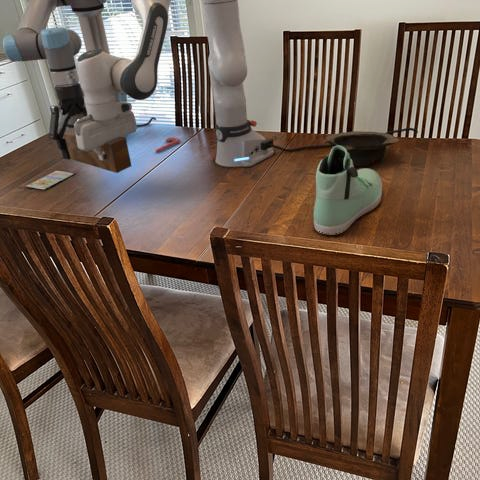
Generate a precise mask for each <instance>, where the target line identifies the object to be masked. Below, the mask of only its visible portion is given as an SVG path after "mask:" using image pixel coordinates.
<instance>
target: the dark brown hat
mask: <svg viewBox="0 0 480 480" xmlns="http://www.w3.org/2000/svg"><path fill="white" fill-rule="evenodd" d="M385 133H386V132H380V131H379V132H378V131H362V130H361V131H360V130H354V131H353V130H352V131H345V132H343V131H342V132H338V133H333V134H330V135H328V136H326V138H325V141H324V143H327V145H329V144H331V145H334V146H342V147H344V148H345V149H346V150H347V152H348V153H349V156H350V159H352V161H353V166H354V167H361V166H370V165H372V164H373V162H374V161H383V160H384V159H385V157H386V152H387V151H386V150H387V147H389V146H391V145H394V144H396V143H398V142H399V139H398V138H397V137H395V136H394V135H392V134H385Z"/></svg>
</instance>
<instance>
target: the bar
mask: <svg viewBox="0 0 480 480" xmlns="http://www.w3.org/2000/svg"><path fill="white" fill-rule="evenodd" d="M63 139H65V140H66V144H67V147H68V151H69V155H70V159H69V160H72V161H75V162H79V163H82V164H85V165H88V166H92V167H95V168H99V169H101V170H105V171H108V172H112V173H115V174H118V173H120V172H123V171H125V170H127V169H129V168H131V167H132V161H131V156H130V152H129V147H128V142H127V138H123V137H118V138H116V139H113V140H111V141H109V142H106V143H105V145H102V146H101V150H100V151H101V152H102V153H105V154H106V159H105V160H100V159H99V157H98V154H97V153H96V152H95V151H94V150H90V151H88V152H86V151H82V150H80V149H79V148H78V146H77V141H76V132H75V129H72V130H69V131H67V130H65V133H64V135H63Z"/></svg>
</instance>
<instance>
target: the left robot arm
mask: <svg viewBox="0 0 480 480" xmlns="http://www.w3.org/2000/svg"><path fill="white" fill-rule="evenodd" d="M107 2H108V0H28V2H27V3H26V7H25V9H24V11H23V14H22V16H21V19H20V22H19V25H18V27H17V30H16V32H15V34H9V35H5V36H4V37H3V39H2V47H3V52H4V54H5V55H6V58H7V59H8V60H9V61H10V62H15V63H16V62H22V63H24V62H31V61H40V60H46V62H47V64H48V68H49V72H50V76H51V81H52V84H53V85H54V91H55V95H56V99H57V100H58V104H56V105H50V106H49V109H50V123H49V129H48V139H50V140H54V141H55V142H56V145H57V148H58V149H59V151H61V154H62V158H63V159H65V160H69V161H70V160H71V159H70V155H69V151H68V147H67V144H66V140H65V138H64V133H65V132H66V131H69V130H72V129H74V124H75V122H76V121H77V119H79V118H83V117H85V116H88V115H87V111H86V107H85V103H84V93H83V91H82V89H81V86H80V82H79V77H78V70H77V64H76V60H75V57H76V56H77V55H78V54H79V53H80V52H81V49H82V47H83V46H82V45H83V43H84V47H85V52H87V51H92V50H97V49H98V50H102V51H103V52H105V53H107V54H110V55H111V52H110V48H109V42H108V37H107V34H106V28H105V24H104V20H103V19H104V18H103V14H102V12H103V11H104V10H105V5H104V4H106V3H107ZM59 7H70V8H71V12H72V13H73V14H74V15H76V17H77V19H78V23H79V27H80V31H81V35H82V36H80V35H79V33H77V32H76V31H75V30H73V29H69V28H68V29H67V28H66V27H63V26H59V27H49V28H48V27H47V26H48V24H49V21H50V18H51V14H52V13H53V12H54V11H56V9H57V8H59ZM81 37H82V39H81ZM82 40H83V43H82ZM115 98H116V101H122V102H127V103H128V95H126V94H123V93H121V92H120V93H117V94H116V95H115ZM153 120H154V121H157V118H156V117H150V119H149V120H148V122H146V123H142V124H136V125H137V128H138V127H139V128H141V127H146V126H148V125H150V124H151V122H152V121H153Z"/></svg>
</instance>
